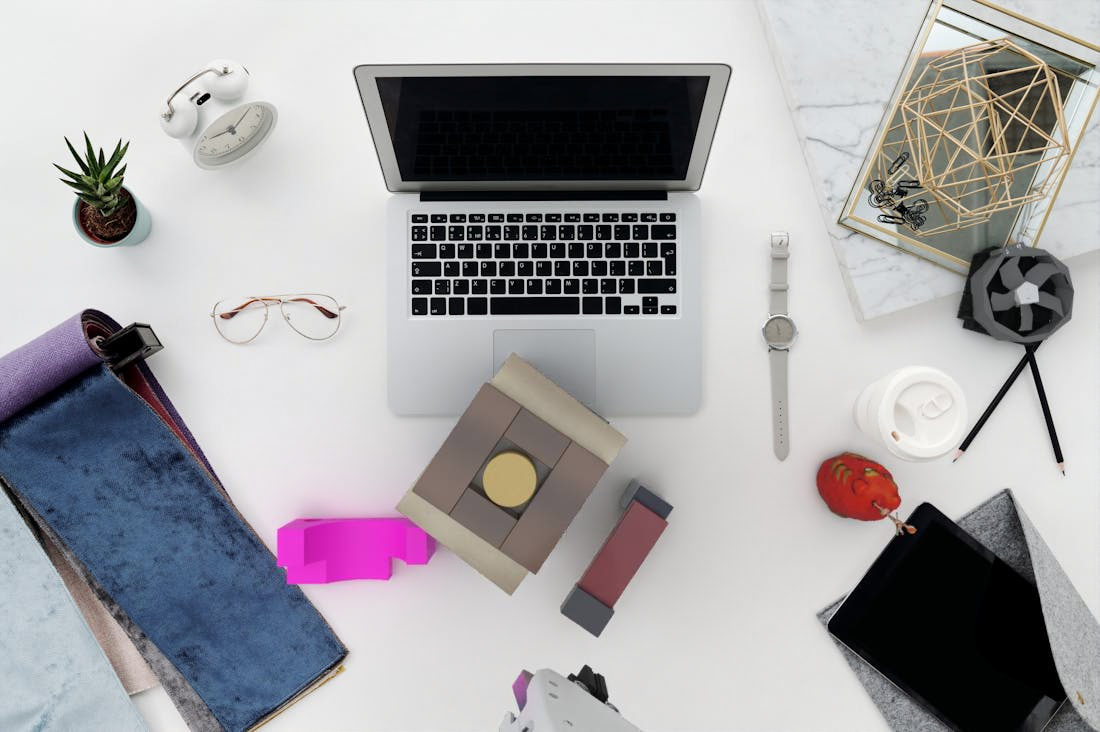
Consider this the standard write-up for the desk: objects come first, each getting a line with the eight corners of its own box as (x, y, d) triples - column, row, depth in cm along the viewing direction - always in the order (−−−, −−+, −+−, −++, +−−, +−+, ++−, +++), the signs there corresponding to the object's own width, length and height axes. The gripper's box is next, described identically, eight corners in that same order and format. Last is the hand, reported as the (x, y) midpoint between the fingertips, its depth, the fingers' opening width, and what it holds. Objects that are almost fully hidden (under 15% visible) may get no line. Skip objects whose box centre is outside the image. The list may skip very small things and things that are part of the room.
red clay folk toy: (885, 464, 86) (958, 480, 71) (866, 524, 86) (936, 553, 71) (820, 443, 86) (879, 455, 71) (801, 503, 86) (857, 528, 71)
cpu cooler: (1064, 353, 81) (971, 326, 81) (1029, 355, 86) (942, 331, 86) (1088, 258, 81) (995, 232, 81) (1052, 267, 87) (965, 242, 87)
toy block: (300, 573, 85) (277, 591, 77) (300, 516, 85) (277, 529, 77) (436, 572, 85) (426, 589, 77) (436, 515, 85) (426, 527, 78)
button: (518, 511, 60) (516, 517, 57) (475, 482, 60) (472, 487, 57) (546, 468, 60) (547, 472, 57) (504, 440, 60) (502, 442, 57)
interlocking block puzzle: (525, 541, 85) (518, 613, 58) (432, 478, 85) (382, 521, 58) (607, 420, 86) (637, 435, 59) (514, 358, 86) (502, 344, 59)
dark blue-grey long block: (599, 607, 85) (604, 628, 77) (554, 576, 85) (555, 595, 77) (674, 494, 85) (687, 504, 78) (629, 464, 85) (638, 471, 78)
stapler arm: (595, 630, 77) (597, 638, 74) (559, 605, 77) (560, 612, 74) (668, 521, 77) (672, 526, 75) (631, 497, 77) (635, 500, 75)
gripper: (426, 809, 36) (465, 672, 55) (689, 993, 36) (639, 793, 54) (516, 676, 37) (525, 583, 55) (777, 856, 36) (698, 703, 55)
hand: (582, 688), depth 55 cm, fingers closed
